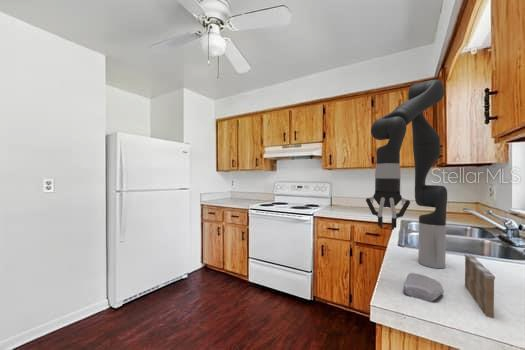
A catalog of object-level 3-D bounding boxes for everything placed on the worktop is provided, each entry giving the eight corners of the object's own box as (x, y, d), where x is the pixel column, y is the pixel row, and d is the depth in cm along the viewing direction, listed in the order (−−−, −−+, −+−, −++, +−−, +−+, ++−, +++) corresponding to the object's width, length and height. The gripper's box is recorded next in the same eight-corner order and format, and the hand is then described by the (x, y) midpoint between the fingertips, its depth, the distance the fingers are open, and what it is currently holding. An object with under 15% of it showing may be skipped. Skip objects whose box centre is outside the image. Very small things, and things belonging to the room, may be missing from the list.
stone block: (441, 295, 77) (406, 280, 83) (445, 282, 76) (409, 268, 82) (439, 313, 68) (400, 295, 74) (443, 298, 67) (403, 281, 73)
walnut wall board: (464, 285, 80) (464, 253, 80) (471, 286, 79) (471, 254, 79) (485, 315, 63) (485, 275, 63) (494, 317, 62) (494, 276, 62)
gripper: (411, 177, 80) (410, 228, 80) (365, 177, 87) (365, 224, 87) (412, 177, 73) (412, 233, 73) (363, 177, 80) (363, 228, 80)
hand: (386, 228), depth 80 cm, fingers open, 3 cm apart
